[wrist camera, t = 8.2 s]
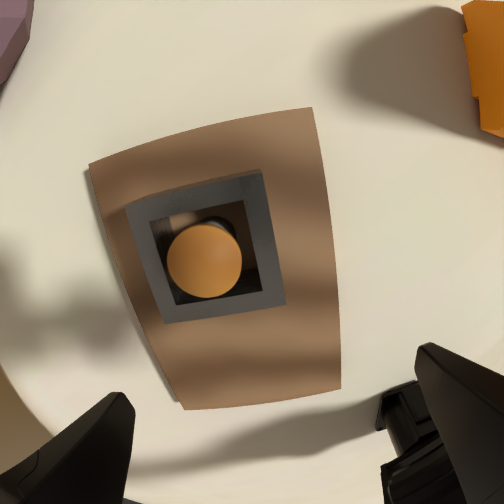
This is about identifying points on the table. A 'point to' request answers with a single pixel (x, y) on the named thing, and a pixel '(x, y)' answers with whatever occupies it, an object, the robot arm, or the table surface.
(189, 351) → the board
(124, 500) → the calculator
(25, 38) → the flask
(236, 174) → the grey square frame
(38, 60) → the table surface
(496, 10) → the bracket
